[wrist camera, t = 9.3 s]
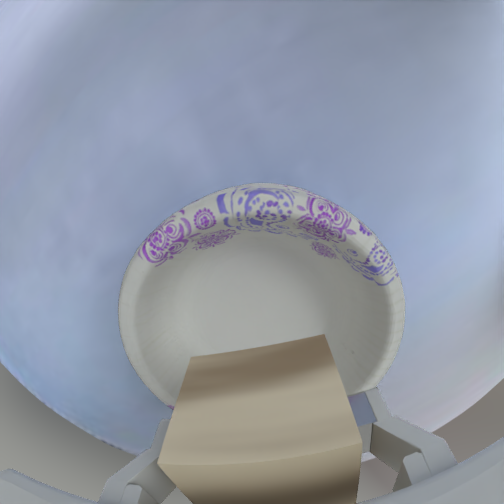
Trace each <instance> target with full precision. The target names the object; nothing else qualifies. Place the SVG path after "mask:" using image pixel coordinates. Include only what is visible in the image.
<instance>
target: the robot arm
mask: <svg viewBox="0 0 504 504" xmlns="http://www.w3.org/2000/svg"><path fill="white" fill-rule="evenodd" d="M347 397H348V400H349V403H350V406H351V409H352V412H353V415H354V418H355V421H356V424H357V427H358V430H359V433H360V436H361V439H362V442H363V443H362V453H365V452H369V451H370V452H371V453H372V454H373V455H374V456H376V457H377V458H379V459H380V460H381V461H383V462H384V463H385V464H387V465H388V466H390V467H391V468H392V469H394V470H395V471H396V472H398V473H399V474H398V476H397V479H396V482H395V485H394V487H393V492H392V493H389V494H386V495H383V496H380V497H377V498H373V499H370V500H367V501H363V502H360V503H356V504H504V437H503V438H501V439H499V440H498V441H496V442H495V443H493V444H492V445H490V446H488V447H487V448H485V449H484V450H482V451H480V452H479V453H477V454H475V455H473V456H472V457H470V458H468V459H466V460H465V461H463V462H461V463H459V464H458V463H457V461H456V459H455V457H454V456H453V454H452V452H451V450H450V448H449V446H448V445H447V443H446V441H445V439H443V438H441V437H439V436H437V435H434V434H432V433H430V432H428V431H426V430H424V429H422V428H420V427H418V426H416V425H413V424H411V423H409V422H407V421H405V420H403V419H401V418H399V417H397V416H393V417H392V416H391V414H390V411H389V409H388V407H387V405H386V403H385V401H384V399H383V397H382V395H381V393H380V391H379V389H378V388H377V387H375V388H372V389H369V390H365V391H361V392H358V393H354V394H351V395H347ZM170 420H171V419H162V420H161V421H160V423H159V425H158V428H157V431H156V434H155V437H154V439H153V442H152V445H151V448H150V449H146V450H145V451H144V452H142V453H141V454H140V455H139V456H137V457H136V458H135V459H134V460H132V461H131V462H130V463H128V464H127V465H126V466H124V467H123V468H122V469H121V470H119V471H118V472H116V473H115V474H114V475H112V476H111V477H110V478H108V479H107V482H106V484H105V486H104V489H103V491H102V494H101V496H100V499H99V501H98V502H96V501H92V500H89V499H85V498H82V497H79V496H76V495H73V494H70V493H67V492H65V491H62V490H59V489H56V488H54V487H51V486H49V485H46V484H44V483H42V482H39V481H37V480H35V479H33V478H30V477H28V476H26V475H24V474H22V473H20V472H18V471H16V470H13V469H6V470H3V471H1V472H0V504H161V503H162V502H163V501H164V500H165V499H166V497H167V496H168V495H169V494H170V493H171V492H172V491H173V490H174V489H175V488H176V485H175V484H174V483H173V482H172V481H171V479H170V478H169V477H168V476H167V475H166V474H165V473H164V471H163V470H162V469H161V468H160V467H159V465H158V464H157V461H158V458H159V455H160V452H161V448H162V445H163V442H164V439H165V436H166V432H167V429H168V426H169V423H170Z"/></svg>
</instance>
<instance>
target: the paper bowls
mask: <svg viewBox="0 0 504 504" xmlns="http://www.w3.org/2000/svg"><path fill="white" fill-rule="evenodd" d="M118 319H119V329H120V334H121V338H122V342H123V346H124V349H125V351H126V354H127V357H128V359H129V361H130V363H131V365H132V366H133V368H134V369H135V371H136V373H137V374H138V376H139V377H140V378H141V380H142V381H143V382H144V384H145V385H146V386H147V387H148V388H149V389H150V391H151V392H152V393H153V394H154V395H155V396H157V397H158V398H159V399H160V400H161V401H162V402H163V403H165V404H166V405H167V406H168V407H170V408H171V409H173V410H174V407H175V404H176V401H177V398H178V395H179V392H180V389H181V386H182V382H183V379H184V376H185V373H186V370H187V367H188V364H189V361H190V358H191V357H194V356H203V355H210V354H218V353H225V352H231V351H238V350H244V349H250V348H256V347H262V346H268V345H273V344H278V343H284V342H289V341H294V340H298V339H303V338H308V337H312V336H317V335H321V334H325V337H326V339H327V342H328V345H329V347H330V350H331V353H332V356H333V358H334V361H335V364H336V367H337V369H338V372H339V375H340V378H341V380H342V383H343V386H344V389H345V392H346V395H351V394H354V393H358V392H361V391H365V390H369V389H372V388H375V387H376V386H377V385H378V383H379V382H380V381H381V379H382V378H383V377H384V375H385V374H386V373H387V371H388V369H389V368H390V366H391V364H392V362H393V360H394V358H395V356H396V354H397V351H398V348H399V345H400V342H401V339H402V335H403V329H404V322H405V300H404V293H403V288H402V283H401V280H400V277H399V275H398V273H397V269H396V267H395V264H394V262H393V261H392V258H391V256H390V255H389V253H388V251H387V250H386V248H385V247H384V246H383V244H382V243H381V242H380V241H379V239H378V238H377V236H376V235H375V234H374V233H373V232H372V231H371V230H370V229H369V228H368V227H367V226H366V225H365V224H363V223H362V222H361V221H360V220H359V219H358V218H356V217H355V216H354V215H352V214H351V213H349V212H348V211H346V210H345V209H343V208H342V207H340V206H338V205H336V204H335V203H333V202H331V201H329V200H327V199H325V198H323V197H321V196H319V195H316V194H314V193H312V192H310V191H307V190H305V189H301V188H298V187H294V186H289V185H282V184H274V183H250V184H245V185H239V186H234V187H230V188H227V189H223V190H220V191H217V192H214V193H212V194H209V195H207V196H205V197H203V198H201V199H199V200H196V201H194V202H192V203H190V204H189V205H187V206H185V207H184V208H182V209H180V210H179V211H177V212H175V213H174V214H172V215H171V216H170V217H168V218H167V219H166V220H164V221H163V222H162V223H161V224H160V225H159V226H158V227H157V228H156V229H155V230H154V231H153V232H152V233H151V234H150V235H149V236H148V237H147V238H146V239H145V240H144V241H143V242H142V244H141V245H140V246H139V248H138V249H137V250H136V252H135V254H134V256H133V257H132V259H131V261H130V263H129V265H128V267H127V269H126V271H125V274H124V277H123V281H122V284H121V289H120V294H119V304H118Z"/></svg>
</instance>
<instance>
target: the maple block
mask: <svg viewBox="0 0 504 504" xmlns="http://www.w3.org/2000/svg"><path fill="white" fill-rule="evenodd" d="M362 443H363V442H362V439H361V436H360V433H359V430H358V427H357V424H356V421H355V418H354V415H353V412H352V409H351V406H350V403H349V400H348V397H347V395H346V392H345V389H344V386H343V383H342V380H341V378H340V375H339V372H338V369H337V367H336V364H335V361H334V358H333V356H332V353H331V350H330V347H329V345H328V342H327V339H326V337H325V334H321V335H317V336H312V337H308V338H303V339H298V340H294V341H289V342H284V343H278V344H273V345H268V346H262V347H256V348H250V349H244V350H238V351H231V352H225V353H218V354H210V355H203V356H194V357H191V358H190V361H189V364H188V367H187V370H186V373H185V376H184V379H183V382H182V386H181V389H180V392H179V395H178V398H177V401H176V404H175V407H174V410H173V413H172V417H171V420H170V423H169V426H168V429H167V432H166V436H165V439H164V442H163V445H162V448H161V452H160V455H159V458H158V461H157V464H158V465H159V467H160V468H161V469H162V470H163V471H164V473H165V474H166V475H167V476H168V477H169V478H170V479H171V481H172V482H173V483H174V484H175V485H176V486H177V487H178V488H179V489H180V490H181V492H182V493H183V494H184V495H185V496H186V497H187V498H188V499H189V500H190V501H191V502H192V503H193V504H356V498H357V491H358V483H359V475H360V466H361V455H362Z"/></svg>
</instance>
